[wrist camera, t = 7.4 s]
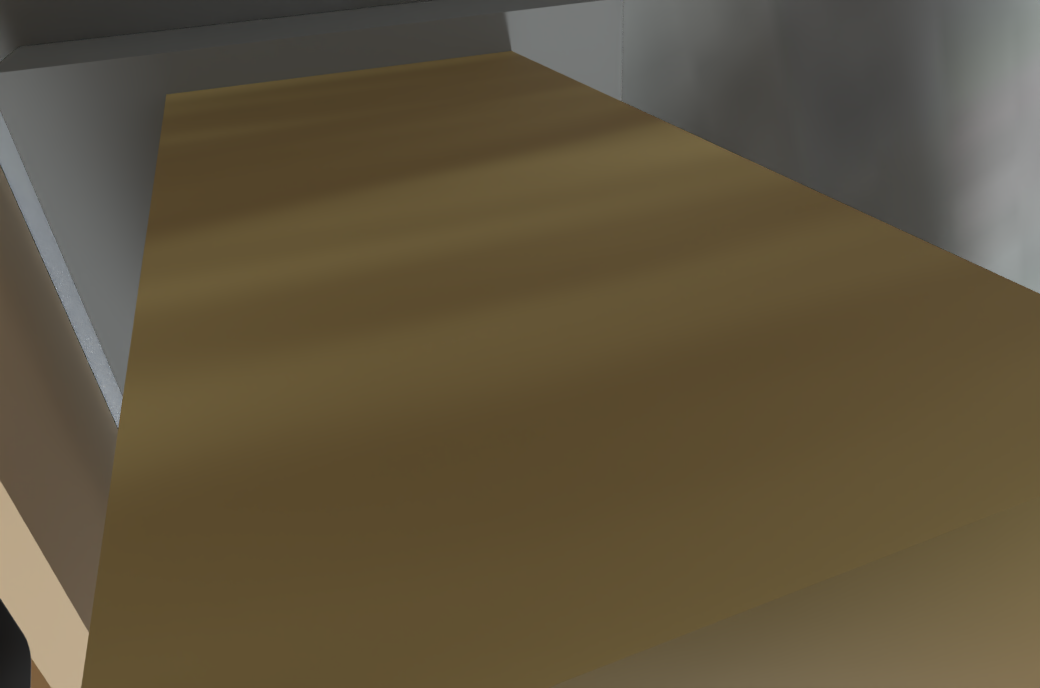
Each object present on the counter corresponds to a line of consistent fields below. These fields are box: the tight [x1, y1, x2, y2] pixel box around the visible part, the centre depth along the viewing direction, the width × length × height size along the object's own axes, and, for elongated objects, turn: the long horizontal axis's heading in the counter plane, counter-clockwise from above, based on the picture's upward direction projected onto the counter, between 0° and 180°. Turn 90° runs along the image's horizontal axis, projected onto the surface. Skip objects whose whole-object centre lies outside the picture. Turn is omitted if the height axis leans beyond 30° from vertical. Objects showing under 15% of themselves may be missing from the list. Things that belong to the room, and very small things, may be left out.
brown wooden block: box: [81, 51, 1040, 688], centre depth 8 cm, size 8×4×9 cm, turn 3°
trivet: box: [0, 0, 623, 396], centre depth 13 cm, size 8×9×2 cm
